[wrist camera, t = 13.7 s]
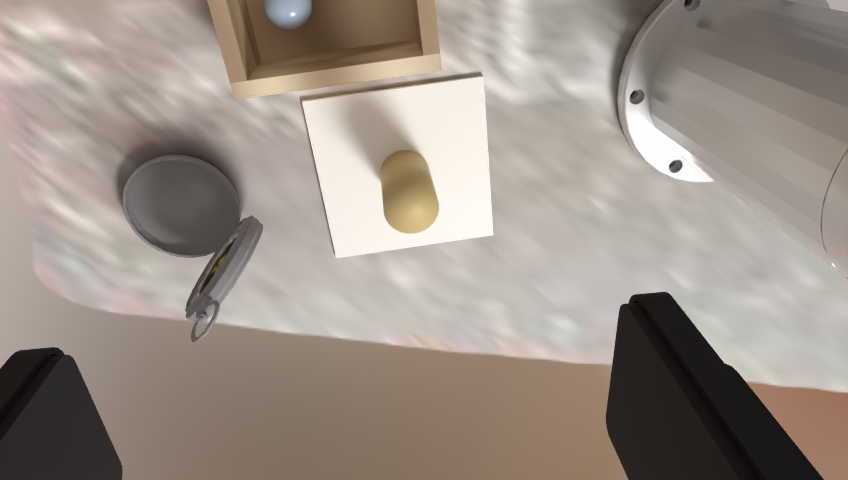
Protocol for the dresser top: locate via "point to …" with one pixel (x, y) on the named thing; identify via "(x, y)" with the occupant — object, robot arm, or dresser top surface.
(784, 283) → the dresser top surface
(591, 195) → the dresser top surface
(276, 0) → the bead slate
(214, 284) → the pocket watch
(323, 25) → the keepsake box
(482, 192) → the lid
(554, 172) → the dresser top surface
